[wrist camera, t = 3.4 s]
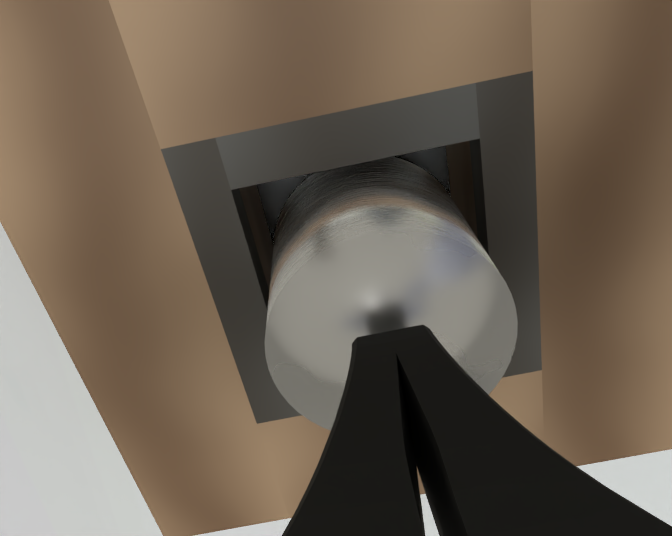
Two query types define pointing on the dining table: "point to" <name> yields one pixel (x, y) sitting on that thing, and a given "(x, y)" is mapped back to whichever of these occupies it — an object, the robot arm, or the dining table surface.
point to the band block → (319, 155)
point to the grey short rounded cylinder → (378, 281)
